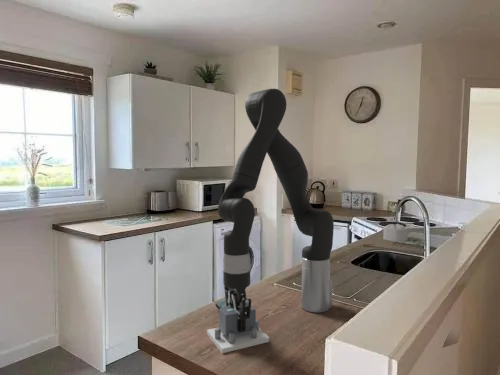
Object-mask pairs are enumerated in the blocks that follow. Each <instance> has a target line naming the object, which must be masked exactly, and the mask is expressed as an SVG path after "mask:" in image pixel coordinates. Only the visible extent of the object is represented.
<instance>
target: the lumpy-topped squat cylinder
mask: <svg viewBox="0 0 500 375" xmlns="http://www.w3.org/2000/svg"><path fill="white" fill-rule="evenodd" d="M408 231H409V229H408V228H407V227H405V226H404V225H402V224H399V223H396V224H393V223H389V224H387V225H386V226H383V237H382V239H383V240H386V241H390V242H401V241H402V242H407V241H408V236H409V235H408V234H409V232H408Z"/></svg>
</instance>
